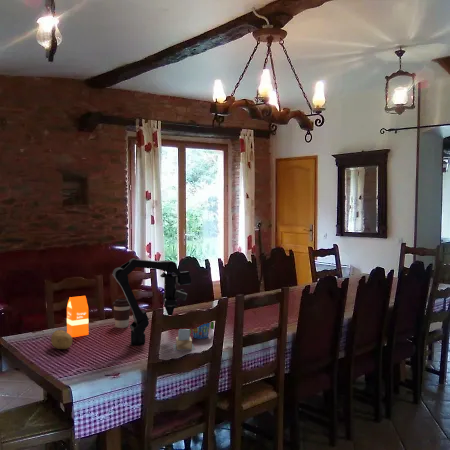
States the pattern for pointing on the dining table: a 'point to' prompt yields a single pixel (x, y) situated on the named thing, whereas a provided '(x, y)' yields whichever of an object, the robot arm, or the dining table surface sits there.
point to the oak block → (183, 344)
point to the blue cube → (184, 334)
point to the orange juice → (77, 316)
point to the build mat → (183, 349)
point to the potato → (61, 339)
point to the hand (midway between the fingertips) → (169, 316)
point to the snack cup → (202, 331)
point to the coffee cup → (121, 313)
